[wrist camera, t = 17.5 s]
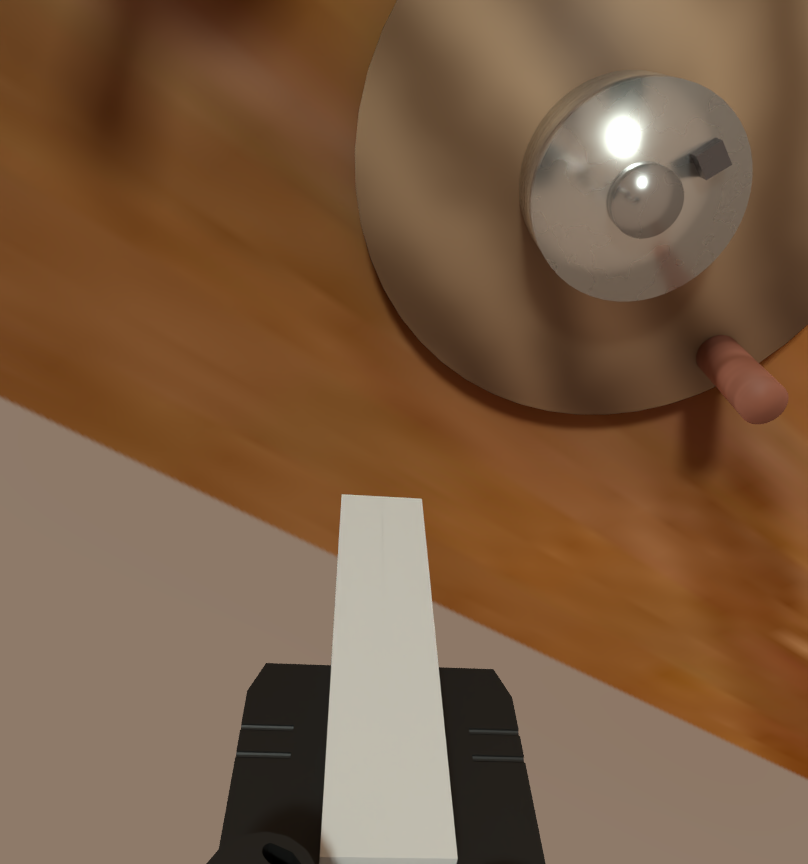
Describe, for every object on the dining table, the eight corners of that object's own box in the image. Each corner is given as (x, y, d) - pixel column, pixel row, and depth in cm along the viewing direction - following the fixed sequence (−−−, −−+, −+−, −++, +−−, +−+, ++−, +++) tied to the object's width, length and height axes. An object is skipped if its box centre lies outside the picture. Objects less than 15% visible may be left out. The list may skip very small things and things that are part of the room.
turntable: (517, 478, 47) (536, 549, 41) (242, 81, 35) (209, 96, 29) (964, 245, 39) (1070, 288, 33) (813, -366, 27) (935, -476, 21)
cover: (572, 309, 40) (594, 345, 35) (482, 150, 35) (495, 169, 31) (746, 208, 37) (792, 234, 33) (671, 22, 33) (714, 24, 28)
